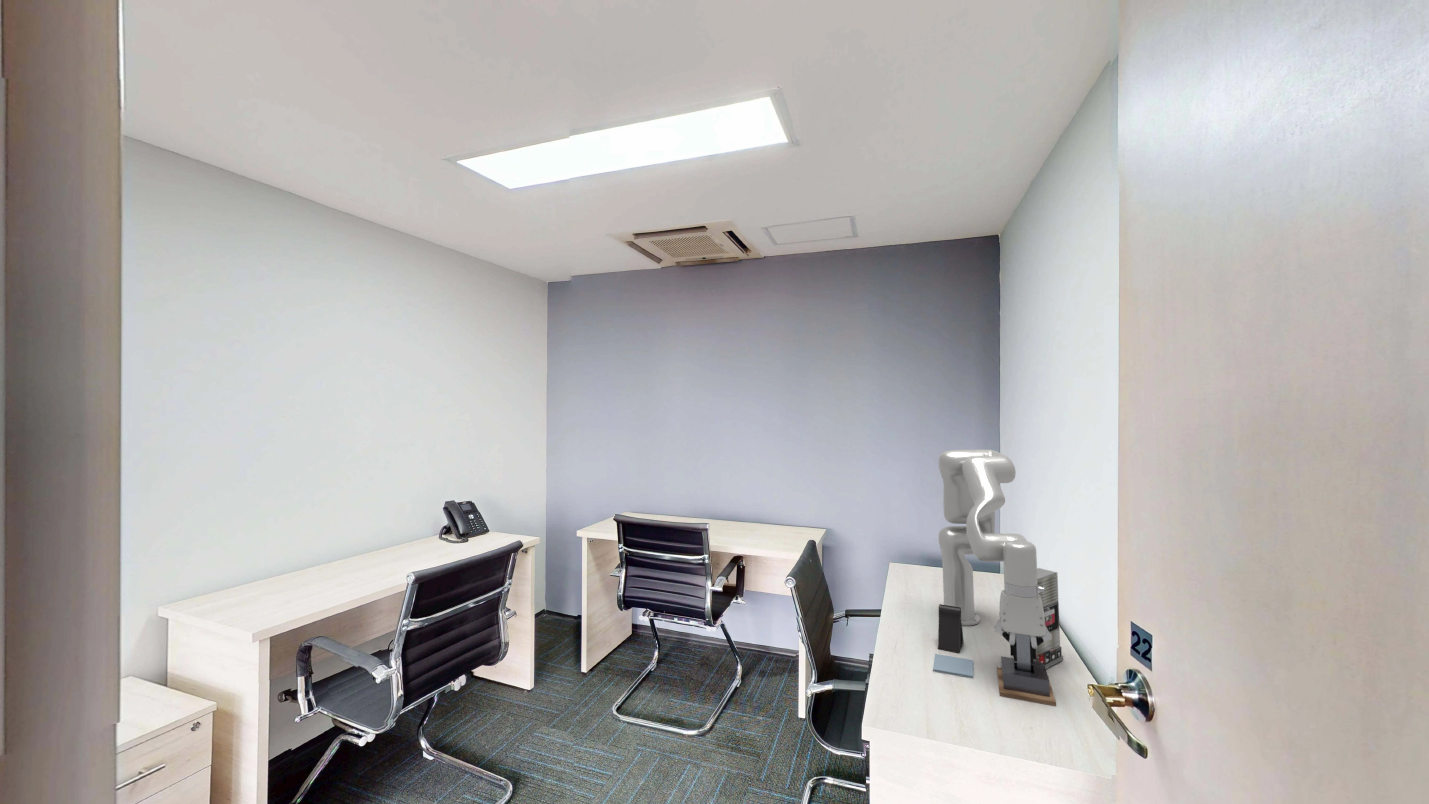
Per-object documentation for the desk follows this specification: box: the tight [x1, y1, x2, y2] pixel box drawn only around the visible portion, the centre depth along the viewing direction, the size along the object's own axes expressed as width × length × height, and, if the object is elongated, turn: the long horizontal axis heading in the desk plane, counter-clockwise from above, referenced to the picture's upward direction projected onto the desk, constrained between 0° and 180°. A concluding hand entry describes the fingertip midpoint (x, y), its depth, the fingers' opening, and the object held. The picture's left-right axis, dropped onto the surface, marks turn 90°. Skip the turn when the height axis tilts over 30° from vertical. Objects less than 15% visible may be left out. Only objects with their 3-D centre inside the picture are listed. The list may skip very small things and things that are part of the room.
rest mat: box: [932, 653, 974, 679], centre depth 149 cm, size 10×10×1 cm
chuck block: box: [1000, 655, 1050, 697], centre depth 137 cm, size 10×10×4 cm
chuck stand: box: [996, 666, 1057, 707], centre depth 137 cm, size 14×12×1 cm
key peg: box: [1015, 634, 1031, 673], centre depth 137 cm, size 3×3×11 cm
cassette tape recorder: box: [1015, 567, 1064, 669], centre depth 150 cm, size 14×6×25 cm, turn 121°
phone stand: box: [937, 603, 964, 654], centre depth 162 cm, size 9×6×12 cm, turn 148°
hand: (1023, 659), depth 138 cm, fingers closed on key peg, 3 cm apart
